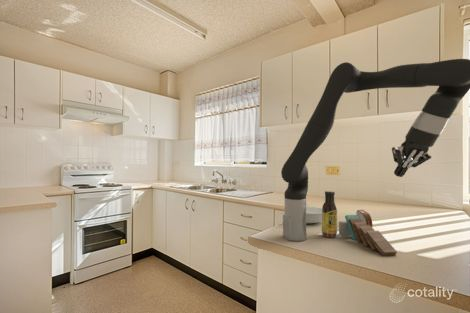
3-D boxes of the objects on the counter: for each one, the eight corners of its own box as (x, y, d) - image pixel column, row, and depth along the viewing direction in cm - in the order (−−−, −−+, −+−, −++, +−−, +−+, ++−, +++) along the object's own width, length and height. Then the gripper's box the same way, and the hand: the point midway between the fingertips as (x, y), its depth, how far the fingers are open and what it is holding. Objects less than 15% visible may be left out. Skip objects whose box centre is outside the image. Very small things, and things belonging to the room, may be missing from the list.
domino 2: (371, 240, 93) (360, 218, 100) (360, 240, 92) (349, 218, 99) (369, 242, 94) (358, 219, 101) (358, 242, 93) (348, 220, 100)
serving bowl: (331, 227, 114) (331, 214, 114) (288, 226, 117) (288, 212, 117) (322, 217, 135) (322, 205, 135) (286, 216, 138) (285, 204, 138)
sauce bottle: (330, 239, 97) (329, 192, 98) (318, 235, 103) (318, 191, 103) (340, 236, 100) (340, 191, 101) (328, 232, 106) (328, 190, 106)
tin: (373, 233, 106) (373, 214, 106) (365, 232, 106) (365, 214, 106) (362, 224, 120) (361, 208, 121) (355, 223, 121) (355, 208, 121)
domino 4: (387, 247, 85) (371, 226, 93) (375, 247, 84) (359, 226, 92) (385, 250, 85) (369, 228, 94) (373, 250, 85) (358, 229, 93)
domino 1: (365, 237, 96) (356, 214, 102) (354, 238, 96) (346, 215, 101) (363, 238, 98) (355, 216, 103) (352, 239, 97) (344, 216, 103)
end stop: (361, 235, 102) (361, 222, 102) (342, 236, 101) (342, 222, 101) (357, 233, 105) (357, 220, 105) (339, 234, 104) (338, 221, 104)
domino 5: (397, 251, 80) (378, 230, 89) (384, 252, 80) (366, 231, 89) (395, 254, 81) (376, 233, 90) (382, 255, 80) (365, 234, 89)
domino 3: (379, 243, 89) (365, 222, 96) (367, 244, 88) (354, 222, 96) (377, 245, 90) (363, 224, 97) (365, 246, 89) (352, 224, 97)
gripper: (435, 128, 74) (407, 172, 82) (398, 121, 73) (373, 167, 81) (455, 136, 68) (423, 184, 75) (416, 129, 66) (386, 178, 74)
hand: (397, 175), depth 78 cm, fingers closed
